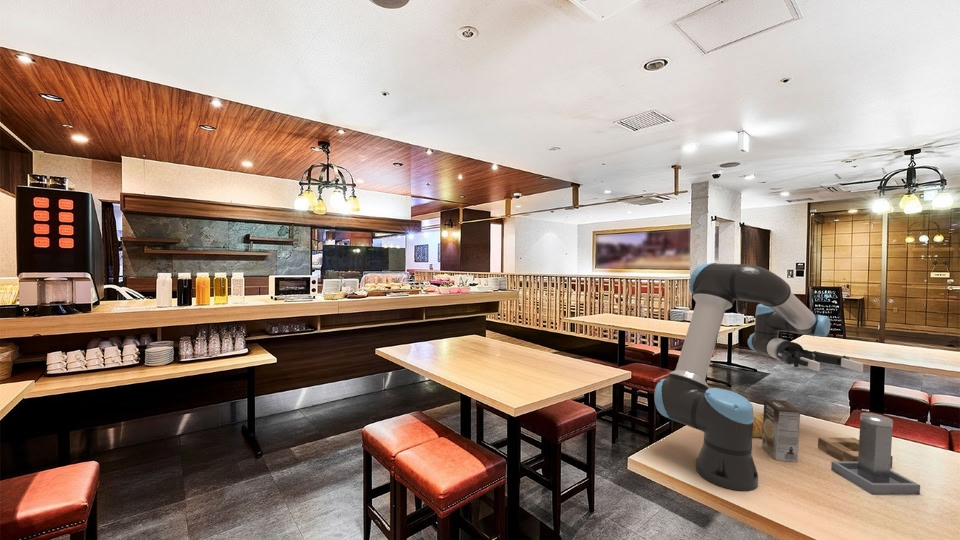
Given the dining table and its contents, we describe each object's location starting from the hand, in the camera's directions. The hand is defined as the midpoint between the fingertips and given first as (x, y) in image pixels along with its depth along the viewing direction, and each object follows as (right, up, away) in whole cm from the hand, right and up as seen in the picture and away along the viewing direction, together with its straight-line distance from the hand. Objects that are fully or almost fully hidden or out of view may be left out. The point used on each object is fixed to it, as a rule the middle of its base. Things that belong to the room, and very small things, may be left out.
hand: (840, 367), depth 122 cm
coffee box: (-16, -29, +4) cm, 33 cm away
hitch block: (+6, -29, +3) cm, 30 cm away
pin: (0, -29, -10) cm, 31 cm away
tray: (0, -29, -10) cm, 31 cm away
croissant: (-12, -28, +20) cm, 37 cm away
